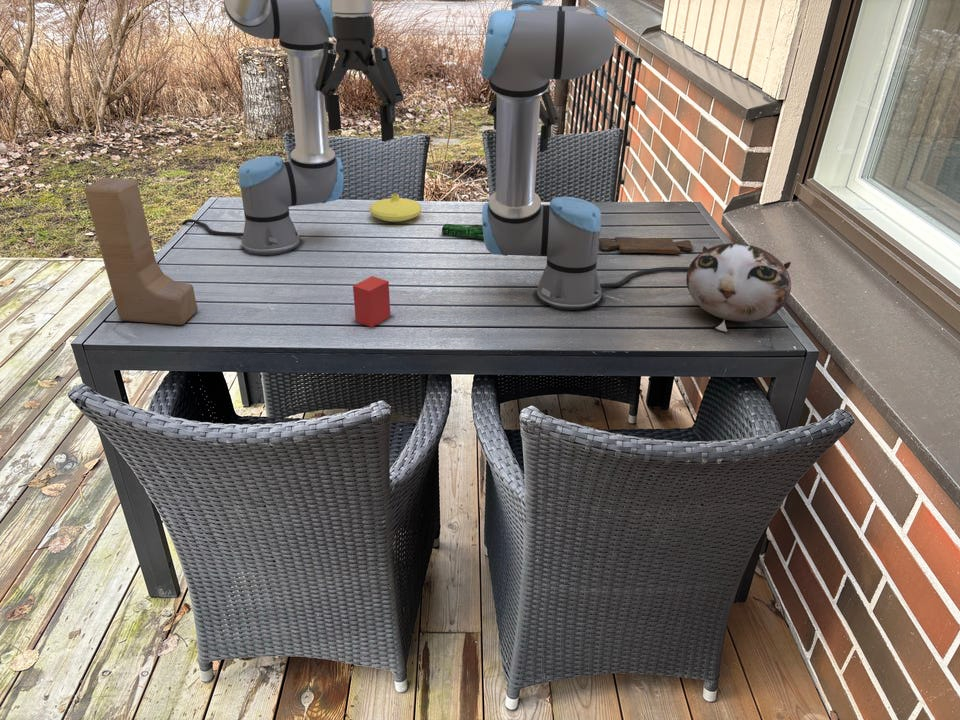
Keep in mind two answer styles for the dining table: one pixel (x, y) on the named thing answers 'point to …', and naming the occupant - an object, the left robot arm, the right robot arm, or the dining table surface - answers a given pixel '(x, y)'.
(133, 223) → the brown l-shaped piece
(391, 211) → the yellow lid
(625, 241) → the dark wooden board
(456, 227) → the handgun
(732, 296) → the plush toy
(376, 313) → the block
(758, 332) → the dining table surface
